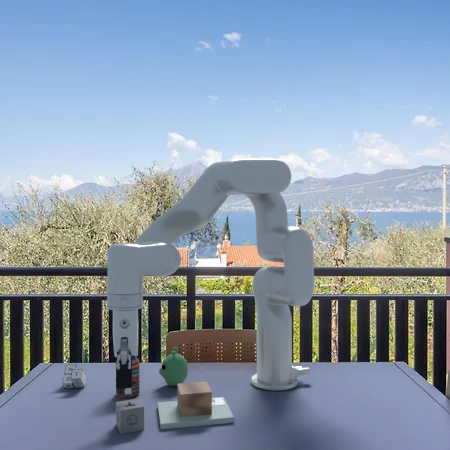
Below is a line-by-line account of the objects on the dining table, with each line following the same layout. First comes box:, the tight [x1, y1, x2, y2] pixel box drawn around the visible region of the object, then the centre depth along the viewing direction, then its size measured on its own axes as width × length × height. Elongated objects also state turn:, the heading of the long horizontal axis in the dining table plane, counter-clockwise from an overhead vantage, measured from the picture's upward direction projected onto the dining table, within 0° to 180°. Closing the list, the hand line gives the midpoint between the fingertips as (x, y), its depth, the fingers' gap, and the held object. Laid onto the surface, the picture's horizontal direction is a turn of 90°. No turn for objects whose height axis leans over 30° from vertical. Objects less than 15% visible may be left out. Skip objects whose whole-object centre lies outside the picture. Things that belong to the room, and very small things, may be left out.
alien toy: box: [158, 346, 189, 387], centre depth 128 cm, size 7×8×10 cm
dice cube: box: [115, 398, 145, 435], centre depth 103 cm, size 5×5×5 cm
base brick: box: [176, 381, 213, 417], centre depth 109 cm, size 7×7×5 cm
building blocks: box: [61, 364, 87, 389], centre depth 128 cm, size 5×5×8 cm
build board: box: [157, 396, 235, 430], centre depth 109 cm, size 16×12×1 cm
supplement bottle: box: [115, 354, 141, 399], centre depth 121 cm, size 6×6×11 cm
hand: (124, 380), depth 102 cm, fingers open, 9 cm apart
